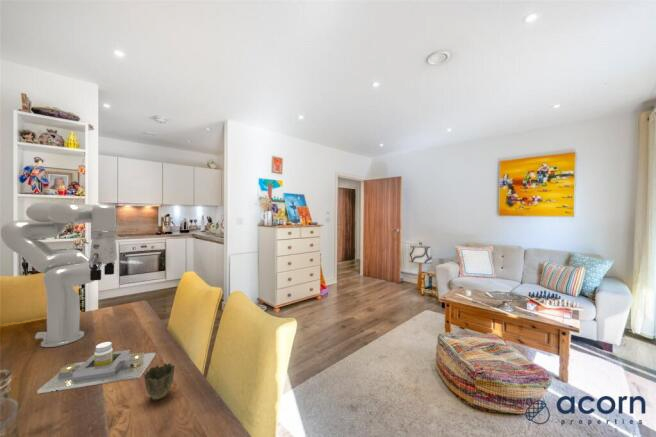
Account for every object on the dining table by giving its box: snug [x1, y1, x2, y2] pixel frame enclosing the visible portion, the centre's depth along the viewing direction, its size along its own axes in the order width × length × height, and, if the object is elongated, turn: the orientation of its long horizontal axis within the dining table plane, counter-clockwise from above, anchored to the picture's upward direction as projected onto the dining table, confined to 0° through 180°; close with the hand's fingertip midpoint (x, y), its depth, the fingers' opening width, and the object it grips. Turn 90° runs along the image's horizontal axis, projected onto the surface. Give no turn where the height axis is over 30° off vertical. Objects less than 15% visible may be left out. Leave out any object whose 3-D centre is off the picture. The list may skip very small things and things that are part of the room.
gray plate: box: [36, 349, 156, 395], centre depth 85 cm, size 26×14×4 cm, turn 108°
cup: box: [143, 362, 175, 401], centre depth 73 cm, size 8×7×8 cm
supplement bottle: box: [94, 341, 114, 367], centre depth 85 cm, size 5×5×8 cm
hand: (102, 277), depth 101 cm, fingers open, 9 cm apart
